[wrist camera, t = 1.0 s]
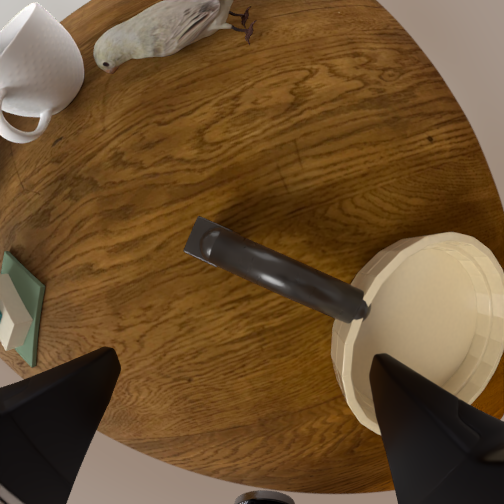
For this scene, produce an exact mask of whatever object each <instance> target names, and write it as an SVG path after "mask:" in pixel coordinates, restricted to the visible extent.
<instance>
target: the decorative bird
mask: <svg viewBox="0 0 504 504" xmlns="http://www.w3.org/2000/svg"><path fill="white" fill-rule="evenodd" d="M232 2H233V0H164V1H161V2H159V3H157V4H155V5H153V6H151V7H149V8H147V9H146V10H144V11H143V12H141V13H140V14H138V15H136V16H135V17H133V18H131V19H130V20H128V21H126V22H123V23H121V24H119V25H117V26H115V27H113V28H111V29H109V30H108V31H106V32H105V33H104V34H103V35H102V36H101V37H100V38H99V39H98V40H97V42H96V44H95V46H94V52H93V55H94V58H95V61H96V64H97V65H98V67H100V68H101V69H103V70H104V71H105V72H107V73H111V74H113V73H114V72H115V71H116V70H117V68H118V67H119V66H120V65H121V64H122V63H124V62H125V61H127V60H130V59H132V58H134V59H141V58H146V57H163V56H171V55H173V54H175V53H177V52H178V51H179V50H181V49H182V48H184V47H185V46H187V45H190V44H192V43H194V42H197V41H198V40H200V39H202V38H204V37H207V36H210V35H212V34H214V33H215V32H216V31H217V30H218V29H230V28H231V29H234V30H236V31H241V32H245V34H246V36H245V39H246V41H247V40H248V43H249V38H250V36H251V35H252V33H253V24H254V23H255V22H256V21H257V20H256V21H254V22H253V23H252V24H251V25H250V27H249V28H248V29H246V27H245V22H246V20H247V19H248V16H249V13H248V10H249V8H250V7H251V6H250V7H249V8H247V9H246V12H245V14H235V13H233V12H231V11H229V10H230V7H231V5H232ZM228 14H231V15H233V16H240V17H241V19H242V21H241V22H242V25H244V27H245V29H239V28H236V27H234V26H233V25H231V24H227V23H226V20H227V17H228ZM249 45H250V43H249Z"/></svg>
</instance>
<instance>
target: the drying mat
mask: <svg viewBox="0 0 504 504" xmlns="http://www.w3.org/2000/svg"><path fill="white" fill-rule="evenodd" d="M1 274H9V276H10V278H11V280H12V282H13V285H14V287H15V288H16V290H17V292H18V294H19V296H20V298H21V300H22V302H23V304H24V305H25V307H26V309H27V311H28V312H29V314H30V316H31V317H32V319H33V322H32V324H31V326H30V329H29V331H28V334H27V336H26V339H25V341H24V344H23V345H22V346H19V347H16V348H14V349H15V350H16V351H17V352H18V353H19V354H20V355H21V357H22V358H23V359H24V360H25V361H26V362H27V363H28V364H29V365H30V366H31V367H35V366H36V355H37V341H38V331H39V323H40V315H41V308H42V302H43V296H44V291H45V286H44V285H43V284H42V283H41V282H40V281H39V280H38V279H37V278H35V277H34V276H33V275H32V274H31V273H30V272H29V271H28V270H27V269H26V268H25V267H24V266H23V265H22V264H21V263H20V262H19V261H18V260H17V259H16V258H15V257H14V256H13V255H12V254H11V253H10V252H9V251H5V252H4V258H3V264H2V270H1Z"/></svg>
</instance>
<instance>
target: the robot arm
mask: <svg viewBox="0 0 504 504" xmlns="http://www.w3.org/2000/svg"><path fill="white" fill-rule="evenodd" d="M120 371H121V365H120V363H119V360H118V357H117V354H116V351H115V350H114V349H113V348H110V347H102V348H100V349H97V350H95V351H93V352H90V353H88V354H86V355H83V356H81V357H78V358H76V359H74V360H71V361H69V362H66V363H64V364H62V365H59V366H57V367H54V368H52V369H49V370H47V371H45V372H42V373H40V374H37V375H35V376H32V377H29V378H27V379H24V380H22V381H19V382H17V383H14V384H11V385H7V386H4V387H1V388H0V504H66V503H67V500H68V498H69V495H70V492H71V490H72V487H73V484H74V481H75V479H76V476H77V474H78V471H79V469H80V467H81V464H82V462H83V459H84V457H85V455H86V452H87V450H88V448H89V445H90V443H91V441H92V439H93V436H94V434H95V432H96V430H97V428H98V425H99V423H100V421H101V419H102V417H103V415H104V413H105V410H106V408H107V406H108V404H109V402H110V399H111V396H112V393H113V391H114V388H115V385H116V382H117V380H118V377H119V374H120ZM369 381H370V386H371V392H372V397H373V403H374V409H375V414H376V419H377V422H378V426H379V429H380V433H381V436H382V440H383V443H384V447H385V451H386V454H387V458H388V462H389V466H390V470H391V474H392V478H393V482H394V487H395V491H396V496H397V500H398V504H504V422H503V421H501V420H499V419H497V418H495V417H492V416H490V415H488V414H486V413H484V412H482V411H480V410H478V409H476V408H475V407H473V406H471V405H469V404H468V403H466V402H464V401H463V400H461V399H458V397H456V396H454V395H453V394H451V393H450V392H448V391H446V390H445V389H443V388H441V387H440V386H438V385H437V384H435V383H433V382H432V381H430V380H429V379H427V378H425V377H424V376H422V375H421V374H419V373H417V372H416V371H414V370H413V369H411V368H409V367H408V366H406V365H405V364H403V363H401V362H400V361H398V360H397V359H395V358H393V357H392V356H390V355H389V354H387V353H380V354H375V355H374V357H373V360H372V364H371V368H370V372H369ZM246 504H273V503H268V502H264V501H260V500H256V499H250V500H249V501H248V502H247V503H246Z"/></svg>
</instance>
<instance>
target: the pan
mask: <svg viewBox="0 0 504 504" xmlns="http://www.w3.org/2000/svg"><path fill="white" fill-rule="evenodd" d="M351 285H352V286H354V287H356V288H359V289H361V290H363V292H364V297H363V300H364V301H366V303H367V305H368V307H369V305H370V304H371V312H370V314H369V316H368V317H367V318H366V319H365V320H364V321H363V322H362V320H363V318H362V319H358V320H355V319H354V320H352V322H351V323H349V324H348V323H345V322H343V321H340V320H338V319H335V322H334V325H333V328H332V346H331V358H332V362H333V366H334V370H335V375H336V379H337V381H338V383H339V386H340V388H341V390H342V392H343V395H344V397H345V399H346V402H347V404H348V405H349V407H350V408H351V410H352V411H353V413H354V414H355V416H356V417H357V419H358V420H359V422H360V423H361V424H363V425H364V426H366V427H367V428H369V429H370V430H372V431H374V432H375V433H377V434H379V435H381V433H380V429H379V426H378V422H377V419H376V414H375V409H374V403H373V397H372V392H371V386H370V381H369V372H370V368H371V364H372V360H373V357H374V355H375V354H380V353H387V354H389V355H390V356H392V357H393V358H395V359H397V360H398V361H400V362H401V363H403V364H405V365H406V366H408V367H409V368H411V369H413V370H414V371H416V372H417V373H419V374H421V375H422V376H424V377H425V378H427V379H429V380H430V381H432V382H433V383H435V384H437V385H438V386H440V387H441V388H443V389H445V390H446V391H448V392H450V393H451V394H453V395H454V396H456V397H458V399H461V400H463V401H464V402H466V403H468V404H469V405H471V404H472V403H473V402H474V400H475V399H476V398H477V397H478V396H479V395H480V394H481V392H482V391H483V390H484V388H485V387H486V385H487V384H488V382H489V380H490V379H491V377H492V375H493V374H494V372H495V370H496V368H497V366H498V363H499V361H500V358H501V356H502V353H503V350H504V272H503V269H502V267H501V266H500V264H499V262H498V261H497V259H496V258H495V256H494V255H493V253H492V252H491V250H490V249H489V248H487V247H486V246H485V245H483V244H482V243H481V242H479V241H478V240H477V239H475V238H474V237H472V236H468V235H464V234H460V233H456V232H444V233H437V234H430V235H423V236H417V237H411V238H405V239H401V240H399V241H398V242H396V243H394V244H392V245H390V246H388V247H387V248H385V249H383V250H381V251H379V252H378V253H377V254H376V255H375V256H374V257H373V258H372V259H371V260H370V261H369V262H368V263H367V264H366V265H365V266H364V267H363V268H362V269H361V270H360V271H359V273H357V275H356V277H355V278H354V280H353V282H352V283H351Z"/></svg>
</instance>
